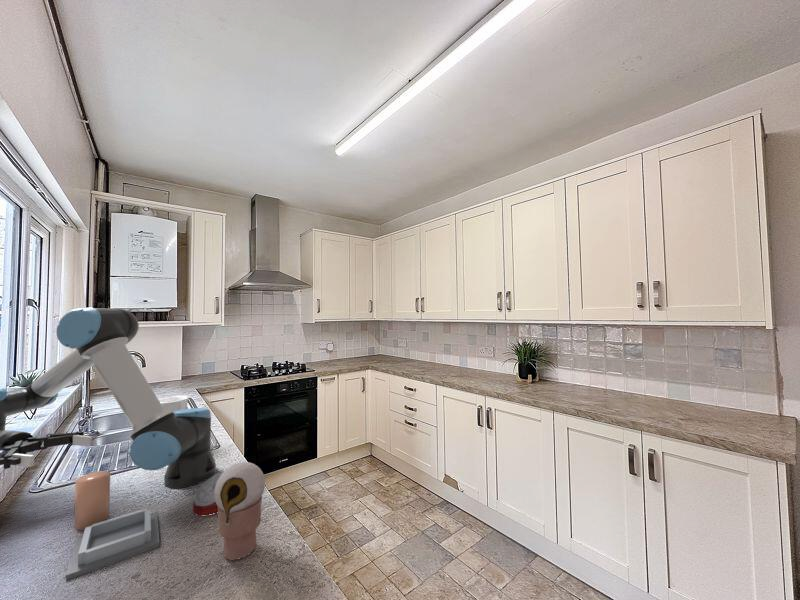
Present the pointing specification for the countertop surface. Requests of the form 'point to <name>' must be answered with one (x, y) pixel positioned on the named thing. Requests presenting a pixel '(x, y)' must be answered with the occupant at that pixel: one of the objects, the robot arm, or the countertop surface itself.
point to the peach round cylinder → (92, 499)
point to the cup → (174, 403)
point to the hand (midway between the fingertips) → (63, 450)
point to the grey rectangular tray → (114, 541)
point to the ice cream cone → (239, 507)
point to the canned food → (206, 497)
